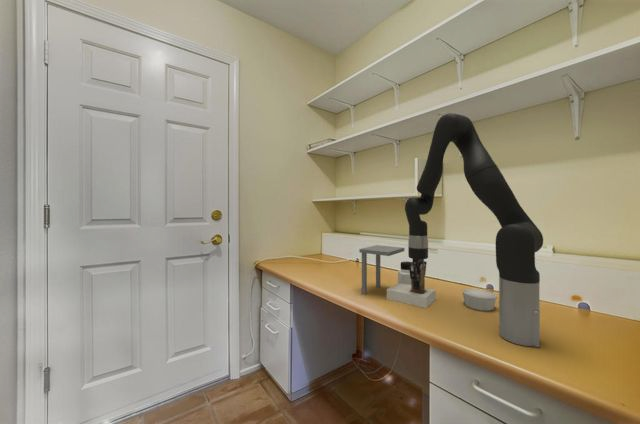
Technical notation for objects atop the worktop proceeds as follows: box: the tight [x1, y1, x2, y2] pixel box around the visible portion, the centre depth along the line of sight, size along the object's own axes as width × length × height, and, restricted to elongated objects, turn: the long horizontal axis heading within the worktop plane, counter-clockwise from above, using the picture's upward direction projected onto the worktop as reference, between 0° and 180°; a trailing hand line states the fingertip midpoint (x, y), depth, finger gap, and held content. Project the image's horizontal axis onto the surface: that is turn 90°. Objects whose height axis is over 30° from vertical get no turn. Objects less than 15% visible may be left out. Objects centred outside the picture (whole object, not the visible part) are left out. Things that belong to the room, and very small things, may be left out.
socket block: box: [386, 282, 437, 309], centre depth 106 cm, size 16×12×4 cm
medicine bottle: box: [397, 260, 412, 285], centre depth 124 cm, size 7×7×12 cm
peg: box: [411, 268, 426, 294], centre depth 104 cm, size 4×4×12 cm
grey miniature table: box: [358, 244, 405, 296], centre depth 115 cm, size 14×16×20 cm
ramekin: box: [461, 288, 498, 312], centre depth 98 cm, size 11×11×5 cm
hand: (418, 287), depth 104 cm, fingers closed on peg, 4 cm apart
